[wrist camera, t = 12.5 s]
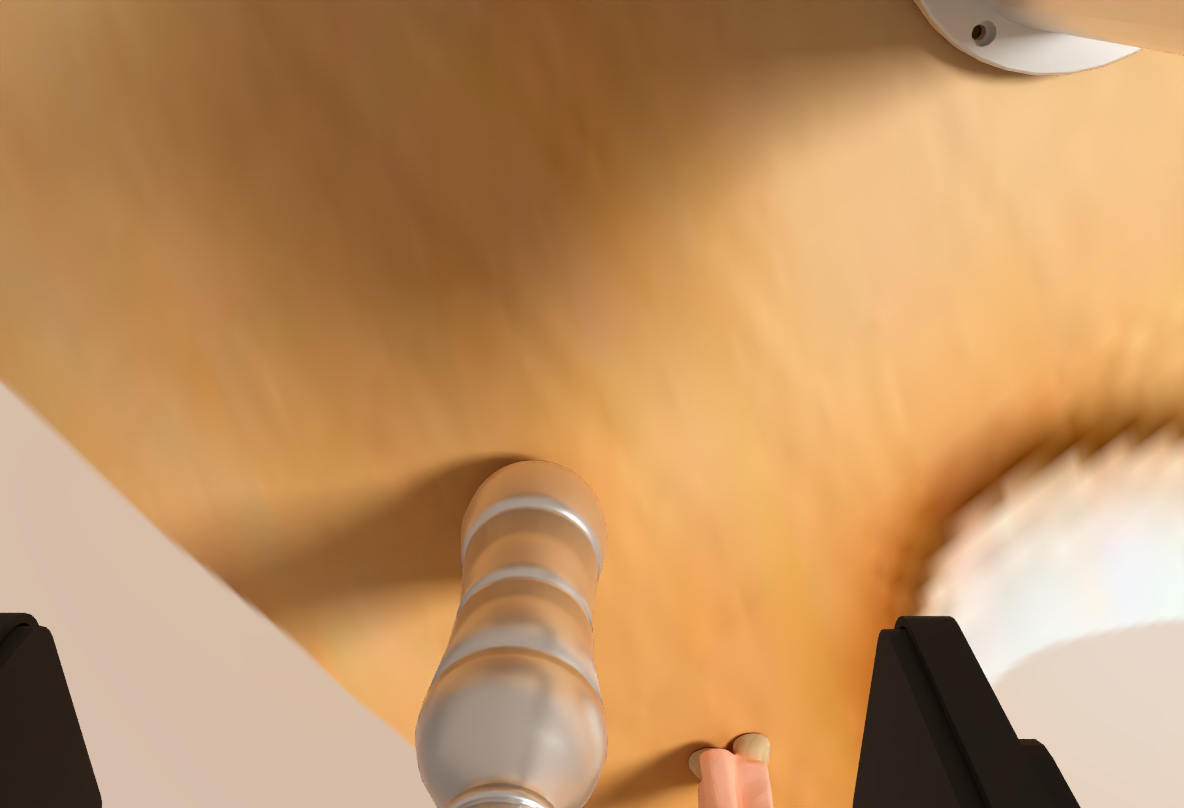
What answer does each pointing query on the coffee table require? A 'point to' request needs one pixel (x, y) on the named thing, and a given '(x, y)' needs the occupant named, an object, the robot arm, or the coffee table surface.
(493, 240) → the coffee table surface
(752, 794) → the grandmother figurine
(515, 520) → the plastic bottle
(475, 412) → the coffee table surface
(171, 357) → the coffee table surface
